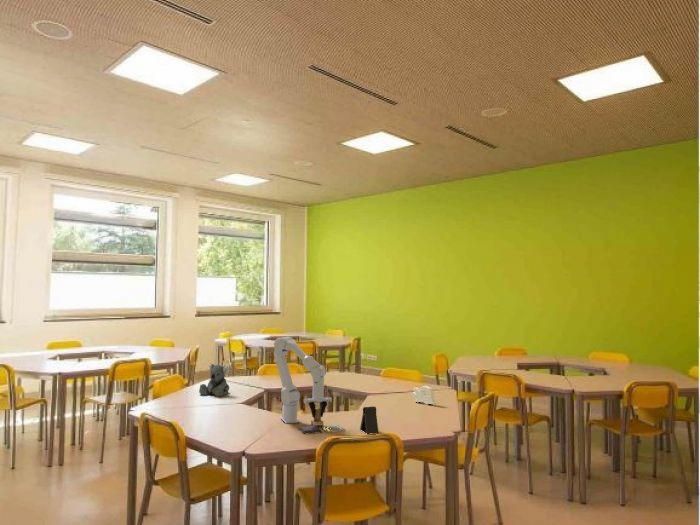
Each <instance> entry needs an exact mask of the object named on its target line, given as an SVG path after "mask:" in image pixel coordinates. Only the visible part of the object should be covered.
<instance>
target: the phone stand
mask: <svg viewBox="0 0 700 525" xmlns="http://www.w3.org/2000/svg"><path fill="white" fill-rule="evenodd" d="M361 416H362V418H361V422H360V427H359V430H360V431H361V430H362V431H361V432H363V431H364V432H365V434H366V433H367V434H366V435H370V434H369V433H377V434H379V433H380V432H379V425H378V416H377V408H376V406H364V407H363V408H362V414H361ZM364 432H363V433H364Z"/></svg>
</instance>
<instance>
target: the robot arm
mask: <svg viewBox="0 0 700 525" xmlns="http://www.w3.org/2000/svg"><path fill="white" fill-rule="evenodd" d="M273 346H274V351H273V355H274V360H275V363H276V367H277V368H276V369H277V371H278V375H279V379H280V382H281V386H282V388H281V391H280V394H281V395H280V396H281V397H280V400H281V403H283V405H282V407H281V409H282V410H281V417H280V418H281V419H283V421H284V422H285V423H284V422H283V421H282V422H283V423H284V424H294V423H295V424H296V423H300V420H298V403H299V401H300V399H301V394H300V392H299V390H298V389H297V386H296V385H294V383H293V379H292V377H291V376H292V375H291V373H290V369H289V365H288V362H287V358H286V354H287V353H288V351H291V352H292V353H293V354H295V356H297V357H298V358H299V359H300V360H301V361H302V362H301V363H302V365H303V366H304V367H305V368H306V369H307V370H308V371H309V372H310V376H311V377H312V392H311V393H312V396H311V397H310V398H309V397H308V398H303V404H308V407H309V409H310V411H311V417H312V418H313V419H314V418H315V408H317V407H316V406H317V405H316V403H318V404H319V408H321V418H323V416H324V413H325V409H326V408H327V406H328V403H332V402H333V401H332V400H333V399H332V397H324V394H325V393H324V390H325V376H326V374H327V369H326V367H325V366H324V365H322V364H320V363H319V362H317V361H316V360H315V359H314V356H311V355H307V353H306V352H304V350H303V349H302V348H301V347H300V345H299V344H297V342H296V340H295V339H293V337H292V336H283V337H281V336H280V337H277V338H276V339H275V341H274V342H273ZM281 419H280V420H281Z"/></svg>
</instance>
